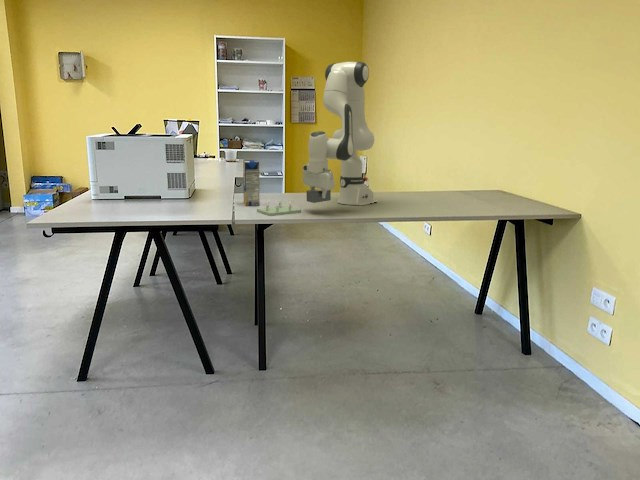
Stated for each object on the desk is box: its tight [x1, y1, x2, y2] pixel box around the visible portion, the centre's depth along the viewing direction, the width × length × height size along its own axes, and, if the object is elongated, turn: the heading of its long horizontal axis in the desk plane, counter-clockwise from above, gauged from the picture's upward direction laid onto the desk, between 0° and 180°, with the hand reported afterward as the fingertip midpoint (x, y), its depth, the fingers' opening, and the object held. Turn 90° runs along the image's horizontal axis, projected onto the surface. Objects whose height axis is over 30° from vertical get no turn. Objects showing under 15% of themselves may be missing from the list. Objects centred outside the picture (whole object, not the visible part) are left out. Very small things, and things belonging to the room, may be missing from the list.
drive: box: [306, 188, 332, 204], centre depth 227 cm, size 10×6×5 cm, turn 127°
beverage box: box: [242, 159, 260, 207], centre depth 245 cm, size 7×11×22 cm, turn 14°
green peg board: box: [256, 198, 302, 217], centre depth 228 cm, size 17×12×5 cm
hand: (318, 196), depth 227 cm, fingers closed on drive, 6 cm apart
